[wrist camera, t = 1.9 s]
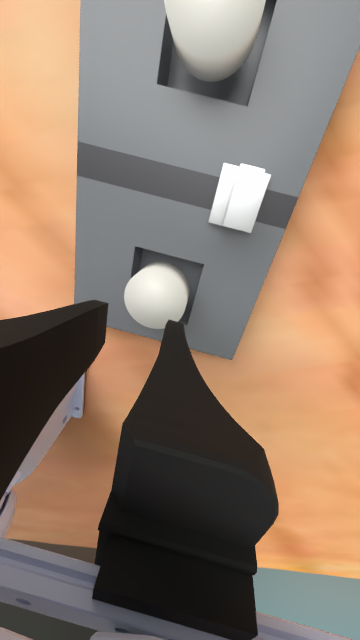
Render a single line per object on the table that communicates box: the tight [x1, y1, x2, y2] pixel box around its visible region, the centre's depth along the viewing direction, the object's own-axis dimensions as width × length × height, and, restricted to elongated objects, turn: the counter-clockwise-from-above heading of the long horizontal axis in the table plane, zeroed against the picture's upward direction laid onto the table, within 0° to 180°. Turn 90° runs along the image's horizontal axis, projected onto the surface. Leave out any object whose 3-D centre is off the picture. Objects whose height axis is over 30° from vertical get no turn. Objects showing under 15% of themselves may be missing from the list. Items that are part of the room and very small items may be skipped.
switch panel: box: [74, 0, 360, 360], centre depth 14 cm, size 20×12×2 cm, turn 167°
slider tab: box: [208, 163, 271, 233], centre depth 11 cm, size 3×2×3 cm
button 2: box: [164, 0, 266, 82], centre depth 9 cm, size 4×4×2 cm
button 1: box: [124, 262, 190, 329], centre depth 15 cm, size 4×4×2 cm
